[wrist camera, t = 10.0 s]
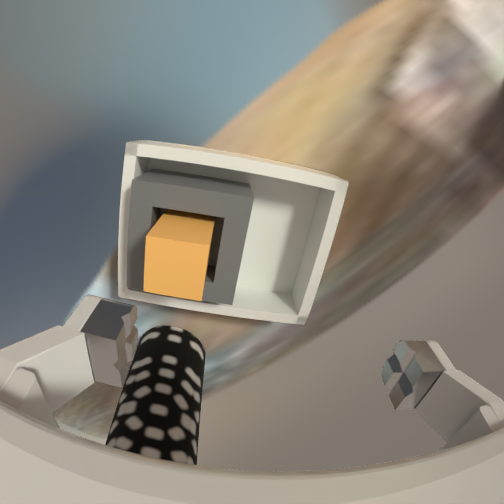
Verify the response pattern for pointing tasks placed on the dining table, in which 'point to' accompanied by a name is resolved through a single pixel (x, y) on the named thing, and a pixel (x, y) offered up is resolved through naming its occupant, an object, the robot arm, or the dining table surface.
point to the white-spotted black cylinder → (162, 397)
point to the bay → (269, 230)
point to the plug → (178, 254)
